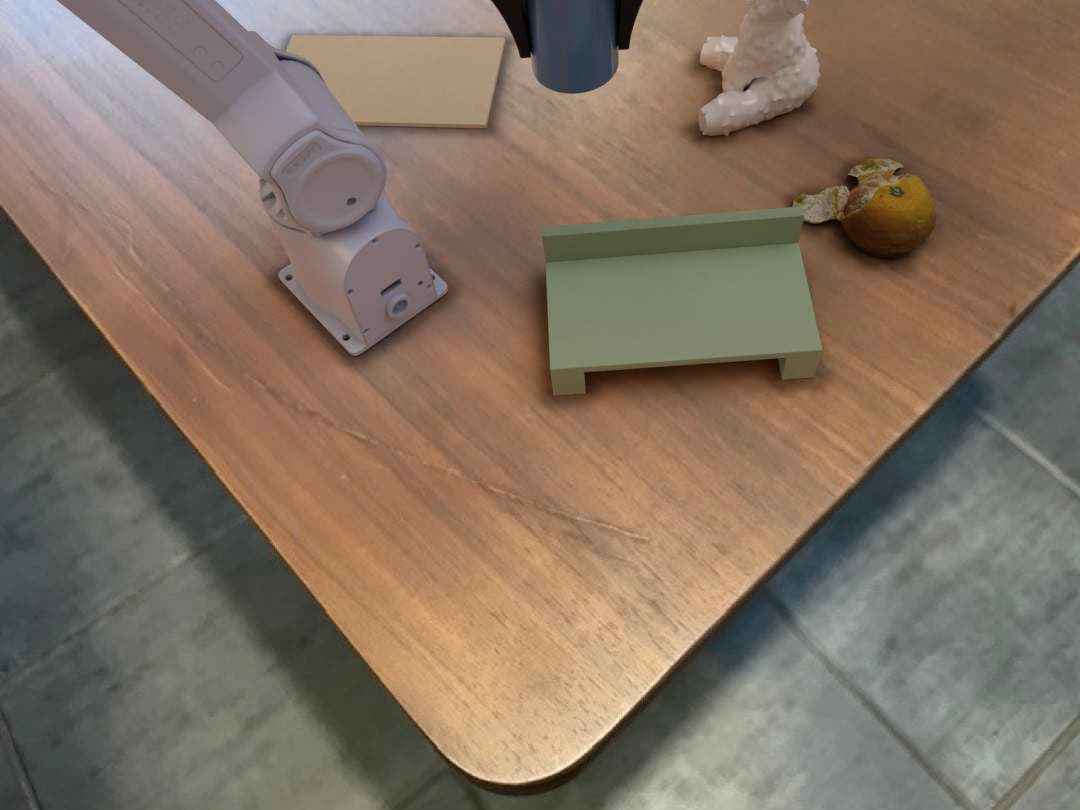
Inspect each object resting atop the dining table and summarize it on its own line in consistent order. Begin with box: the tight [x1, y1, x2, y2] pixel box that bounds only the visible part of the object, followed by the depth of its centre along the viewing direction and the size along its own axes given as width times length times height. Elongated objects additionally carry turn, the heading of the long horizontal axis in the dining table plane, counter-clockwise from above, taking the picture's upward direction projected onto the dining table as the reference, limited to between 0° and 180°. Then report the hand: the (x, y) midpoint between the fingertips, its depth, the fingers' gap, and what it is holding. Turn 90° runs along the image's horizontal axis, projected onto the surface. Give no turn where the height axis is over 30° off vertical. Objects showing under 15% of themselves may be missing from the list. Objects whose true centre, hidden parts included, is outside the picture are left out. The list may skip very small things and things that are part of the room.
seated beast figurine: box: [697, 0, 822, 137], centre depth 67 cm, size 10×9×12 cm
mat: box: [285, 34, 507, 129], centre depth 76 cm, size 18×10×1 cm, turn 83°
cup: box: [525, 0, 620, 95], centre depth 59 cm, size 6×6×7 cm
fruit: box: [791, 158, 937, 259], centre depth 63 cm, size 8×8×4 cm
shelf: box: [541, 206, 823, 397], centre depth 59 cm, size 9×16×6 cm, turn 92°
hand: (574, 43), depth 61 cm, fingers closed on cup, 5 cm apart
